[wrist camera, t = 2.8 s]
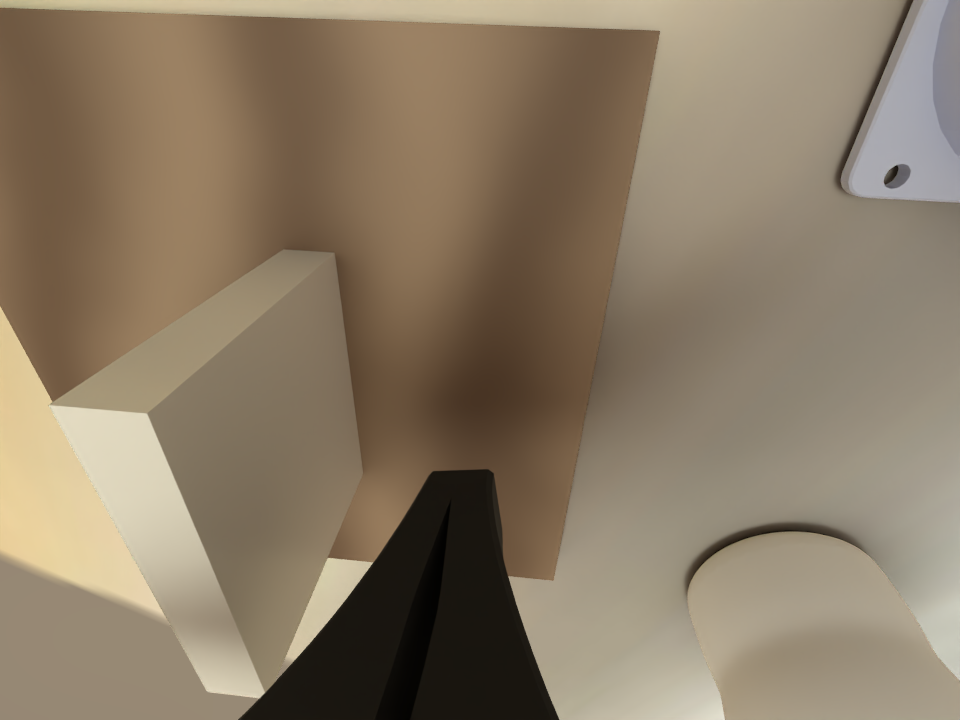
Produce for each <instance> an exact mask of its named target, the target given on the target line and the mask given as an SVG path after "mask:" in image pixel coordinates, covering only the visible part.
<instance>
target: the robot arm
mask: <svg viewBox="0 0 960 720" xmlns="http://www.w3.org/2000/svg"><path fill="white" fill-rule="evenodd" d="M896 165H897V166H898V168H899V169H898V173H897V175H896V177H895V178H894V179H893V181H891V182H889V183H888V184H886V185H885V184H884V177H885V175H886V174H887V172H888V171H889V170H890V169H891V168H893V167H894V166H896ZM841 184H842V188H843V189H844V190H845V191H846V192H847V193H849V194H852V195H855V196H859V197H862V198H879V199H898V200H917V201H935V202H954V203H960V0H913V3H912V5H911V8H910V10H909V12H908V15H907V17H906V20H905V22H904V24H903V27H902V29H901V32H900V34H899V37H898V39H897V41H896V44H895V46H894V49H893V51H892V53H891V56H890V58H889V61H888V63H887V66H886V68H885V70H884V73H883V75H882V78H881V80H880V82H879V85H878V87H877V90H876V92H875V94H874V97H873V99H872V102H871V104H870V107H869V109H868V111H867V114H866V116H865V119H864V121H863V123H862V126H861V128H860V131H859V133H858V136H857V138H856V140H855V143H854V145H853V148H852V150H851V152H850V155H849V157H848V160H847V162H846V164H845V167H844V169H843V172H842V176H841ZM238 720H559V718H558V716H557V713H556V711H555V708H554V706H553V704H552V701H551V699H550V696H549V694H548V691H547V689H546V686H545V684H544V681H543V678H542V676H541V673H540V671H539V668H538V665H537V663H536V660H535V657H534V655H533V652H532V649H531V646H530V643H529V641H528V638H527V635H526V632H525V629H524V626H523V623H522V620H521V617H520V614H519V611H518V608H517V605H516V602H515V598H514V595H513V591H512V588H511V585H510V581H509V578H508V574H507V570H506V567H505V563H504V559H503V533H502V524H501V517H500V511H499V504H498V498H497V491H496V485H495V478H494V473H493V472H491V471H490V470H489V469H477V470H448V471H433V472H432V473H431V474H429V476H428V478H427V479H426V481H425V483H424V485H423V486H422V488H421V490H420V491H419V493H418V495H417V497H416V498H415V500H414V502H413V503H412V505H411V506H410V508H409V510H408V511H407V513H406V514H405V516H404V518H403V519H402V521H401V522H400V524H399V526H398V527H397V529H396V530H395V532H394V533H393V535H392V536H391V538H390V539H389V541H388V542H387V544H386V545H385V547H384V548H383V550H382V551H381V553H380V554H379V555H378V557H377V558H376V560H375V561H374V563H373V564H372V565H371V567H370V568H369V569H368V571H367V572H366V573H365V575H364V576H363V577H362V579H361V580H360V582H359V583H358V584H357V586H356V587H355V588H354V590H353V591H352V592H351V594H350V595H349V596H348V598H347V599H346V600H345V602H344V603H343V604H342V605H341V607H340V608H339V609H338V610H337V612H336V613H335V614H334V615H333V617H332V618H331V619H330V620H329V621H328V623H327V624H326V625H325V626H324V628H323V629H322V630H321V631H320V632H319V633H318V635H317V636H316V637H315V638H314V639H313V640H312V642H311V643H310V644H309V645H308V646H307V647H306V649H305V650H304V651H303V652H302V653H301V654H300V655H299V656H298V657H297V659H296V660H295V661H294V662H293V663H292V664H291V665H290V666H289V667H288V668H287V670H286V671H285V672H284V673H283V674H282V675H281V676H280V677H279V678H278V679H277V681H276V682H275V683H274V684H273V685H272V686H271V687H270V688H269V689H268V690H267V691H266V692H265V693H264V694H263V695H262V696H261V697H260V698H259V699H258V701H257V702H256V703H255V704H254V705H253V706H252V707H251V708H250V709H249V710H248V711H247V712H246V713H245V714H244V715H243V716H242V717H241V718H239V719H238Z"/></svg>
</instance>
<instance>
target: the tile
mask: <svg viewBox="0 0 960 720" xmlns="http://www.w3.org/2000/svg"><path fill="white" fill-rule="evenodd" d="M49 407H50V409H51V411H52V413H53V414H54V416H55V418H56V420H57V422H58V423H59V425H60V427H61V429H62V431H63V432H64V434H65V436H66V438H67V440H68V441H69V443H70V445H71V447H72V449H73V450H74V452H75V454H76V456H77V458H78V459H79V461H80V463H81V465H82V467H83V468H84V470H85V472H86V474H87V476H88V478H89V479H90V481H91V483H92V485H93V487H94V488H95V490H96V492H97V494H98V496H99V497H100V499H101V501H102V503H103V505H104V506H105V508H106V510H107V512H108V514H109V515H110V517H111V519H112V521H113V523H114V524H115V526H116V528H117V530H118V532H119V533H120V535H121V537H122V539H123V541H124V542H125V544H126V546H127V548H128V550H129V551H130V553H131V555H132V557H133V559H134V560H135V562H136V564H137V566H138V568H139V569H140V571H141V573H142V575H143V577H144V579H145V580H146V582H147V584H148V586H149V588H150V589H151V591H152V593H153V595H154V597H155V598H156V600H157V602H158V604H159V606H160V607H161V609H162V611H163V613H164V615H165V616H166V618H167V620H168V622H169V624H170V625H171V627H172V629H173V631H174V633H175V634H176V636H177V638H178V640H179V642H180V643H181V645H182V647H183V649H184V651H185V652H186V654H187V656H188V658H189V660H190V661H191V663H192V665H193V667H194V668H195V670H196V672H197V674H198V675H199V678H200V680H201V681H202V683H203V685H204V687H205V689H206V690H207V692H213V693H221V694H229V695H238V696H246V697H254V698H260V697H261V696H262V695H263V694H264V693H265V692H266V691H267V690H268V689H269V688H270V687H271V686H272V685H273V684H274V683H275V681H276V678H277V676H278V673H279V671H280V668H281V666H282V664H283V662H284V659H285V657H286V655H287V652H288V650H289V648H290V645H291V643H292V640H293V638H294V636H295V633H296V631H297V629H298V626H299V624H300V622H301V619H302V617H303V614H304V612H305V610H306V607H307V605H308V603H309V600H310V598H311V596H312V593H313V591H314V588H315V586H316V584H317V581H318V579H319V577H320V574H321V572H322V570H323V567H324V565H325V562H326V560H327V558H328V555H329V553H330V551H331V548H332V546H333V544H334V541H335V539H336V537H337V534H338V532H339V529H340V527H341V525H342V522H343V520H344V518H345V515H346V513H347V511H348V508H349V506H350V503H351V501H352V499H353V496H354V494H355V492H356V489H357V487H358V485H359V482H360V480H361V477H362V475H363V468H362V460H361V452H360V444H359V437H358V429H357V421H356V414H355V406H354V398H353V390H352V383H351V375H350V367H349V359H348V352H347V344H346V336H345V329H344V321H343V313H342V305H341V298H340V290H339V282H338V274H337V267H336V259H335V253H332V252H316V251H300V250H285V249H283V250H282V251H280V252H279V253H277V254H276V255H274V256H273V257H271V258H270V259H268V260H267V261H265V262H264V263H262V264H261V265H259V266H258V267H256V268H255V269H253V270H251V271H250V272H248V273H247V274H245V275H244V276H242V277H241V278H239V279H238V280H236V281H235V282H233V283H232V284H230V285H229V286H227V287H226V288H224V289H223V290H221V291H220V292H218V293H217V294H215V295H214V296H212V297H211V298H209V299H208V300H206V301H205V302H203V303H202V304H200V305H199V306H197V307H196V308H194V309H193V310H191V311H190V312H188V313H187V314H185V315H184V316H182V317H181V318H179V319H178V320H176V321H175V322H173V323H171V324H170V325H168V326H167V327H165V328H164V329H162V330H161V331H159V332H158V333H156V334H155V335H153V336H152V337H150V338H149V339H147V340H146V341H144V342H143V343H141V344H140V345H138V346H137V347H135V348H134V349H132V350H131V351H129V352H128V353H126V354H125V355H123V356H122V357H120V358H119V359H117V360H116V361H114V362H113V363H111V364H110V365H108V366H107V367H105V368H104V369H102V370H101V371H99V372H98V373H96V374H94V375H93V376H91V377H90V378H88V379H87V380H85V381H84V382H82V383H81V384H79V385H78V386H76V387H75V388H73V389H72V390H70V391H69V392H67V393H66V394H64V395H63V396H61V397H60V398H58V399H57V400H55V401H54V402H52V403H51V404H49Z"/></svg>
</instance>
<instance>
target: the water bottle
mask: <svg viewBox="0 0 960 720" xmlns="http://www.w3.org/2000/svg"><path fill="white" fill-rule="evenodd" d="M687 601H688V608H689V612H690V616H691V619H692V623H693V626H694V629H695V632H696V635H697V638H698V641H699V644H700V647H701V649H702V652H703V655H704V657H705V660H706V663H707V665H708V667H709V669H710V672H711V674H712V676H713V678H714V680H715V683H716V685H717V687H718V689H719V692H720V695H721V699H722V704H723V710H724V716H725V720H960V681H959V680H958V678H957V677H956V676H955V675H954V674H953V673H952V672H951V671H950V670H949V669H948V668H947V667H946V666H945V664H944V663H943V662H942V661H941V660H940V659H939V658H938V656H937V655H936V653H935V652H934V650H933V648H932V647H931V645H930V643H929V641H928V639H927V637H926V636H925V634H924V632H923V630H922V629H921V627H920V625H919V623H918V622H917V620H916V618H915V617H914V615H913V614H912V612H911V611H910V609H909V608H908V606H907V605H906V603H905V602H904V600H903V599H902V597H901V596H900V594H899V593H898V592H897V590H896V589H895V587H894V586H893V585H892V583H891V582H890V580H889V579H888V578H887V576H886V575H885V574H884V572H883V571H882V570H881V569H880V567H879V566H878V565H877V564H876V563H875V561H874V560H873V559H872V558H871V557H869V556H868V555H867V554H866V553H865V552H863V551H862V550H861V549H859V548H857V547H856V546H854V545H852V544H850V543H847V542H845V541H843V540H840V539H837V538H834V537H830V536H826V535H822V534H817V533H809V532H775V533H768V534H762V535H757V536H754V537H750V538H747V539H743V540H741V541H738V542H736V543H733V544H731V545H729V546H727V547H725V548H723V549H722V550H720V551H718V552H717V553H715V554H714V555H713V556H711V557H710V558H709V559H708V560H707V561H706V562H705V563H703V564H702V566H701V567H700V568H699V569H698V571H697V572H696V573H695V575H694V577H693V578H692V580H691V583H690V585H689V589H688V595H687Z"/></svg>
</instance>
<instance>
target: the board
mask: <svg viewBox="0 0 960 720" xmlns="http://www.w3.org/2000/svg"><path fill="white" fill-rule="evenodd" d="M659 34H660V31H649V30H620V29H591V28H562V27H533V26H505V25H476V24H447V23H418V22H390V21H361V20H332V19H303V18H275V17H246V16H217V15H188V14H160V13H131V12H102V11H73V10H45V9H16V8H0V306H1V308H2V310H3V312H4V313H5V315H6V317H7V319H8V321H9V323H10V324H11V326H12V328H13V330H14V332H15V334H16V335H17V337H18V339H19V341H20V343H21V345H22V346H23V348H24V350H25V352H26V354H27V356H28V357H29V359H30V361H31V363H32V365H33V367H34V368H35V370H36V372H37V374H38V376H39V378H40V379H41V381H42V383H43V385H44V387H45V389H46V390H47V392H48V394H49V396H50V398H51V400H52V401H53V402H54V401H55V400H57V399H58V398H60V397H61V396H63V395H64V394H66V393H67V392H69V391H70V390H72V389H73V388H75V387H76V386H78V385H79V384H81V383H82V382H84V381H85V380H87V379H88V378H90V377H91V376H93V375H94V374H96V373H98V372H99V371H101V370H102V369H104V368H105V367H107V366H108V365H110V364H111V363H113V362H114V361H116V360H117V359H119V358H120V357H122V356H123V355H125V354H126V353H128V352H129V351H131V350H132V349H134V348H135V347H137V346H138V345H140V344H141V343H143V342H144V341H146V340H147V339H149V338H150V337H152V336H153V335H155V334H156V333H158V332H159V331H161V330H162V329H164V328H165V327H167V326H168V325H170V324H171V323H173V322H175V321H176V320H178V319H179V318H181V317H182V316H184V315H185V314H187V313H188V312H190V311H191V310H193V309H194V308H196V307H197V306H199V305H200V304H202V303H203V302H205V301H206V300H208V299H209V298H211V297H212V296H214V295H215V294H217V293H218V292H220V291H221V290H223V289H224V288H226V287H227V286H229V285H230V284H232V283H233V282H235V281H236V280H238V279H239V278H241V277H242V276H244V275H245V274H247V273H248V272H250V271H251V270H253V269H255V268H256V267H258V266H259V265H261V264H262V263H264V262H265V261H267V260H268V259H270V258H271V257H273V256H274V255H276V254H277V253H279V252H280V251H282V250H283V249H285V250H300V251H316V252H332V253H335V259H336V267H337V274H338V282H339V290H340V298H341V305H342V313H343V321H344V329H345V336H346V344H347V352H348V359H349V367H350V375H351V383H352V390H353V398H354V406H355V414H356V421H357V429H358V437H359V444H360V452H361V460H362V468H363V475H362V477H361V480H360V482H359V485H358V487H357V489H356V492H355V494H354V496H353V499H352V501H351V503H350V506H349V508H348V511H347V513H346V515H345V518H344V520H343V522H342V525H341V527H340V529H339V532H338V534H337V537H336V539H335V541H334V544H333V546H332V548H331V551H330V553H329V555H328V558H337V559H347V560H357V561H367V562H374V561H375V560H376V558H377V557H378V555H379V554H380V553H381V551H382V550H383V548H384V547H385V545H386V544H387V542H388V541H389V539H390V538H391V536H392V535H393V533H394V532H395V530H396V529H397V527H398V526H399V524H400V522H401V521H402V519H403V518H404V516H405V514H406V513H407V511H408V510H409V508H410V506H411V505H412V503H413V502H414V500H415V498H416V497H417V495H418V493H419V491H420V490H421V488H422V486H423V485H424V483H425V481H426V479H427V478H428V476H429V474H431V473H432V472H433V471H448V470H477V469H489V470H490V471H491V472H493V473H494V478H495V485H496V491H497V498H498V504H499V511H500V517H501V524H502V533H503V559H504V563H505V567H506V570H507V574H508V576H514V577H524V578H533V579H543V580H554V575H555V569H556V564H557V559H558V554H559V549H560V544H561V538H562V533H563V528H564V523H565V518H566V513H567V508H568V502H569V497H570V492H571V487H572V482H573V477H574V472H575V466H576V461H577V456H578V451H579V446H580V441H581V435H582V430H583V425H584V420H585V415H586V410H587V405H588V399H589V394H590V389H591V384H592V379H593V374H594V369H595V363H596V358H597V353H598V348H599V343H600V338H601V332H602V327H603V322H604V317H605V312H606V307H607V302H608V296H609V291H610V286H611V281H612V276H613V271H614V265H615V260H616V255H617V250H618V245H619V240H620V235H621V229H622V224H623V219H624V214H625V209H626V204H627V199H628V193H629V188H630V183H631V178H632V173H633V168H634V162H635V157H636V152H637V147H638V142H639V137H640V132H641V126H642V121H643V116H644V111H645V106H646V101H647V95H648V90H649V85H650V80H651V75H652V70H653V65H654V59H655V54H656V49H657V44H658V39H659Z"/></svg>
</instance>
